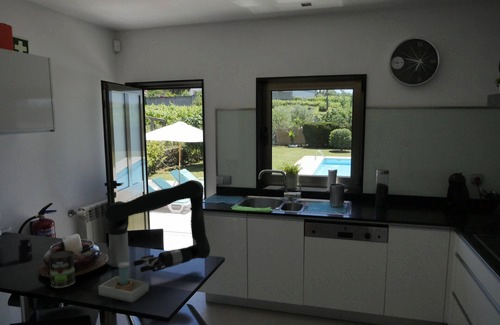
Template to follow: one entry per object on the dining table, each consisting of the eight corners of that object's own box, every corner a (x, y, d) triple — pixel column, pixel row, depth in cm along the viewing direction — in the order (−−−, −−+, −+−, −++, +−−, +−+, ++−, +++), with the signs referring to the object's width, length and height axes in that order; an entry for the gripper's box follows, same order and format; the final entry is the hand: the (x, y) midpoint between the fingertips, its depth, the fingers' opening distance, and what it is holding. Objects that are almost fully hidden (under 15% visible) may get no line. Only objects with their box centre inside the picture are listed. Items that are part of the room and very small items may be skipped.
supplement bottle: (32, 261, 193) (30, 240, 192) (17, 263, 191) (15, 241, 190) (34, 257, 200) (33, 236, 198) (20, 258, 197) (18, 237, 196)
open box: (98, 294, 156) (98, 284, 156) (116, 284, 166) (116, 274, 166) (132, 302, 149) (131, 292, 149) (148, 291, 160) (148, 281, 159)
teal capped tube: (115, 291, 157) (115, 264, 156) (124, 287, 161) (123, 261, 160) (124, 293, 155) (123, 266, 154) (132, 289, 159) (131, 262, 158)
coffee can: (73, 286, 164) (71, 256, 162) (48, 289, 161) (46, 259, 159) (77, 277, 174) (75, 249, 172) (53, 279, 171) (52, 251, 169)
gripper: (163, 246, 176) (131, 254, 166) (177, 255, 165) (142, 263, 155) (164, 261, 177) (131, 269, 167) (177, 271, 165) (143, 280, 155)
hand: (137, 266), depth 161 cm, fingers open, 8 cm apart
